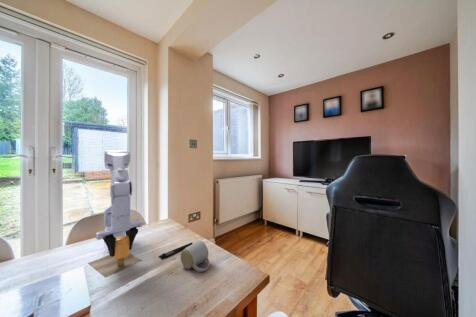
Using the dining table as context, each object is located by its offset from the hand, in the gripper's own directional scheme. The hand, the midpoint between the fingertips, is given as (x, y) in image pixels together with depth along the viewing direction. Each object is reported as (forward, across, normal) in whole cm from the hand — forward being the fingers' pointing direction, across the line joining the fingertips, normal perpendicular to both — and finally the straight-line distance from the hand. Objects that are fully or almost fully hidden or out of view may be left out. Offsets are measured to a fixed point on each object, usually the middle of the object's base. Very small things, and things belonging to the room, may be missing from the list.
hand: (120, 252), depth 65 cm
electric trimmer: (+7, +17, -8) cm, 20 cm away
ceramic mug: (+6, +17, -21) cm, 28 cm away
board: (+6, 0, +4) cm, 7 cm away
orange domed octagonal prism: (+1, 0, 0) cm, 1 cm away
